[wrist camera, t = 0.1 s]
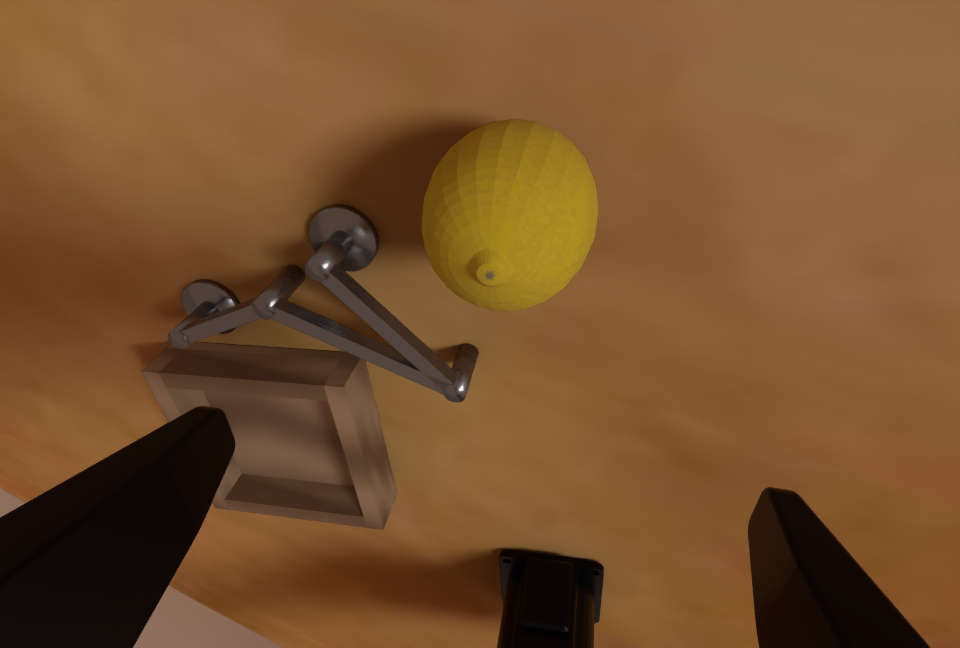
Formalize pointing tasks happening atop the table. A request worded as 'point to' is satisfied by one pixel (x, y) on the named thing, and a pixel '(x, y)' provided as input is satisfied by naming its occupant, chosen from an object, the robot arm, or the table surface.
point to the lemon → (509, 215)
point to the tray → (287, 428)
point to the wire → (339, 248)
